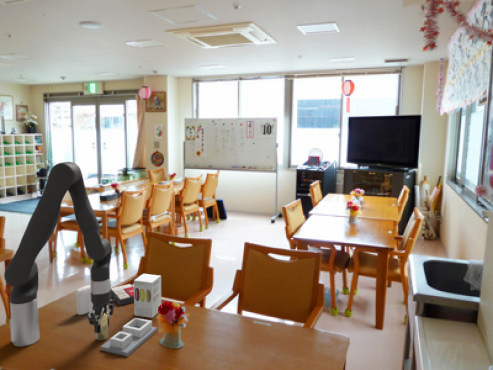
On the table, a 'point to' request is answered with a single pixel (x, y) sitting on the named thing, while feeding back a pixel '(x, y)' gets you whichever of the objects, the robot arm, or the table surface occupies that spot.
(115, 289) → the printed cardboard box
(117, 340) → the grey holder tray
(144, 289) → the supplement box
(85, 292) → the photo printer
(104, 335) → the yellow bottle
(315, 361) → the table surface
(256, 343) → the table surface
